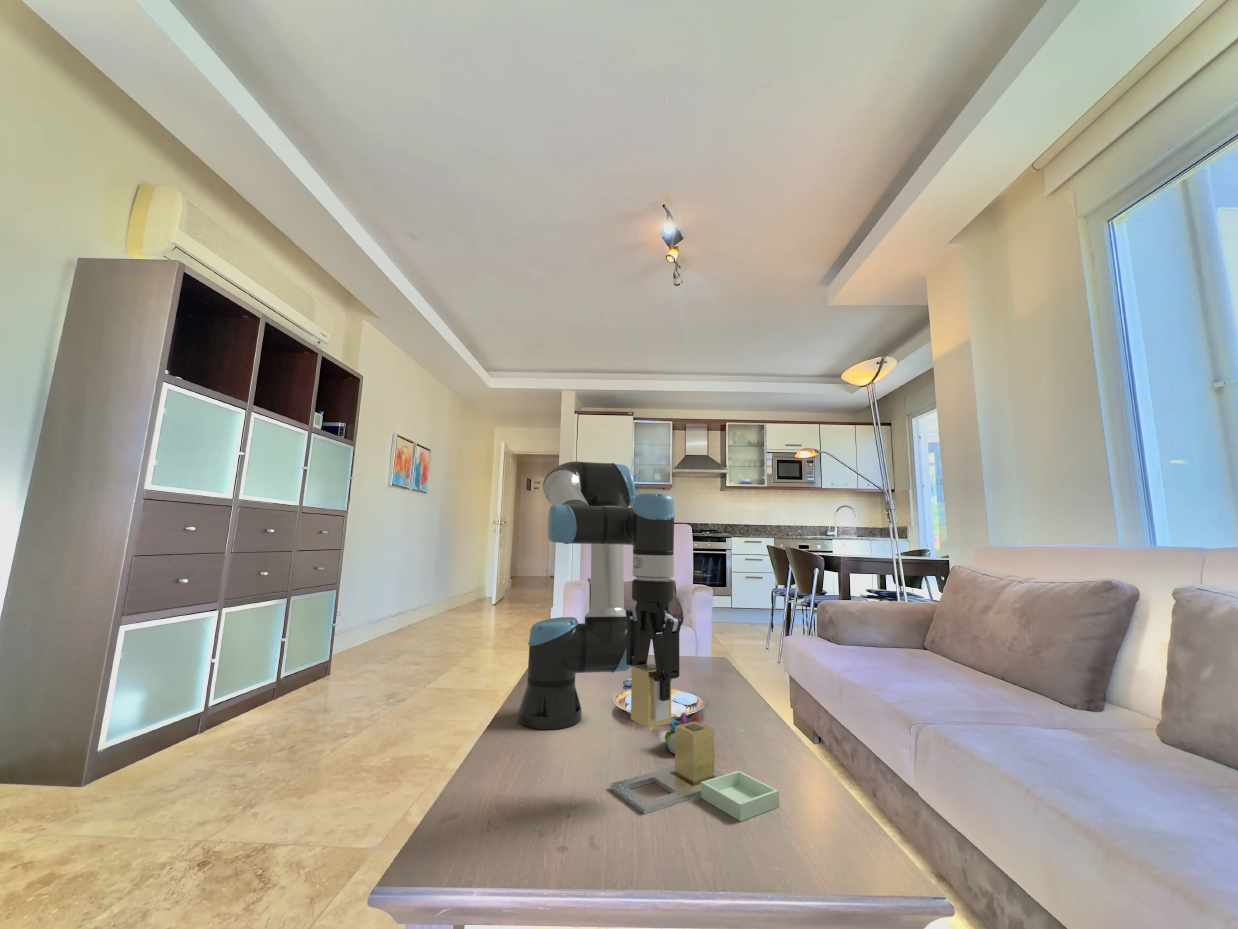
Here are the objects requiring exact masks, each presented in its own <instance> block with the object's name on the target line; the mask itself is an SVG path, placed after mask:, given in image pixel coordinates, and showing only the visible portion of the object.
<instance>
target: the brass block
mask: <svg viewBox="0 0 1238 929" xmlns="http://www.w3.org/2000/svg"><path fill="white" fill-rule="evenodd" d="M663 673H664V671H663ZM654 678H657V672H656V664H655V662H651V663H647V664H642V665H635V666H631V686H630V687H631V689H630V693H631V695H630V696H631V697H630V699H631V700H630V720H631V721H633V722H635V723H636V724H637V723H638V724H639V725H641V726H642V727H645V728H647V729H650V728H655V727H658V726H659V727H660V726H664V725H667V724H669V723H671V719H672V680H671V681H670V700H669V719H664V720H660V721H654V720H653V710H654Z"/></svg>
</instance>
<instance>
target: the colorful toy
mask: <svg viewBox="0 0 1238 929" xmlns="http://www.w3.org/2000/svg"><path fill="white" fill-rule="evenodd" d="M688 719H689V718H688V716H687V713H686V712H682V713H681V714H680V722H679V721H678V720H676V719H674V718H671V723H669V727H670V730H669V731H667V732H666V733H665V734H664V741H665V742H666V744H667V748H668V750H669V751H670V752H671V753H672V754H673V755H675V726H677V725H681V724H686V723H689V720H688ZM695 721H696V722H698V723H699V721H700V716H699V714H695V715H694V717H693V718H692V720H691V722H695ZM704 725H705V726H707V727H710V725H709V724H708V725H707V724H704Z"/></svg>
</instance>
